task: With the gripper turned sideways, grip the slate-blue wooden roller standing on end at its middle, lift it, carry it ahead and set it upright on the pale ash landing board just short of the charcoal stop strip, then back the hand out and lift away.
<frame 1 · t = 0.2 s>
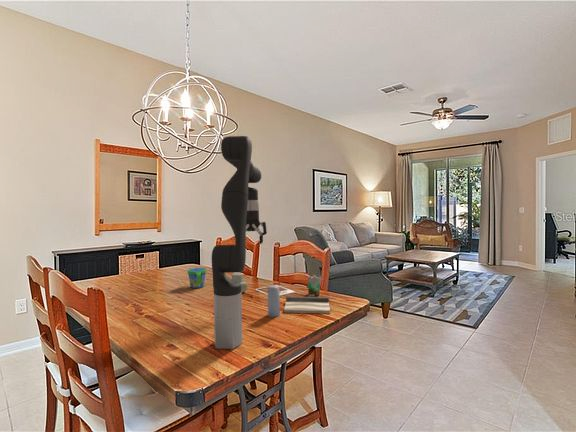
hand: (251, 244, 148), 28 cm above the table, tool pointing down, fingers open, 8 cm apart
roller: (273, 314, 132), on the table
snack cup: (197, 287, 180), on the table
landing board: (307, 307, 141), on the table
air freshener: (237, 292, 168), on the table
photo frame: (274, 292, 169), on the table
food container: (315, 295, 161), on the table
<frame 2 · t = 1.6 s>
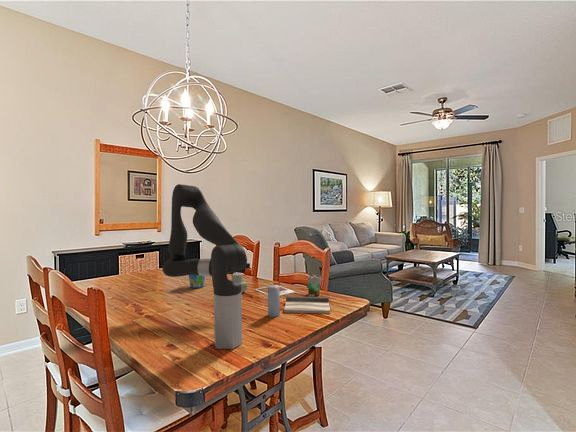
hand: (247, 267, 132), 20 cm above the table, tool horizontal, fingers open, 8 cm apart
nothing on the table moved.
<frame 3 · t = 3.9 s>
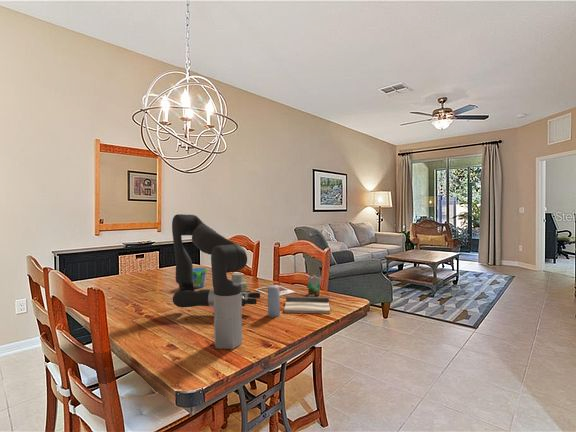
hand: (258, 298, 133), 7 cm above the table, tool horizontal, fingers open, 8 cm apart
nothing on the table moved.
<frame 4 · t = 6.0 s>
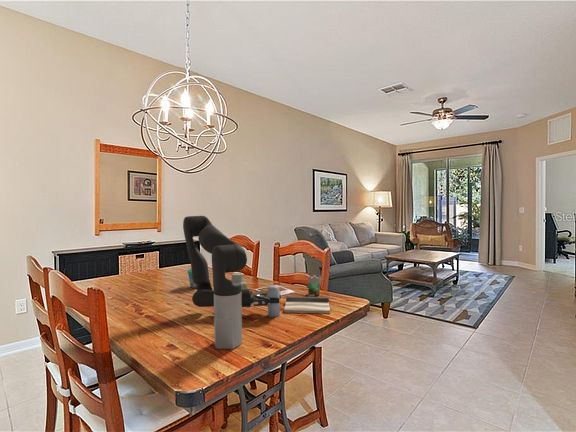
hand: (279, 298, 132), 7 cm above the table, tool horizontal, fingers closed on roller, 5 cm apart
roller: (273, 314, 132), on the table, touching gripper
everything else where it was.
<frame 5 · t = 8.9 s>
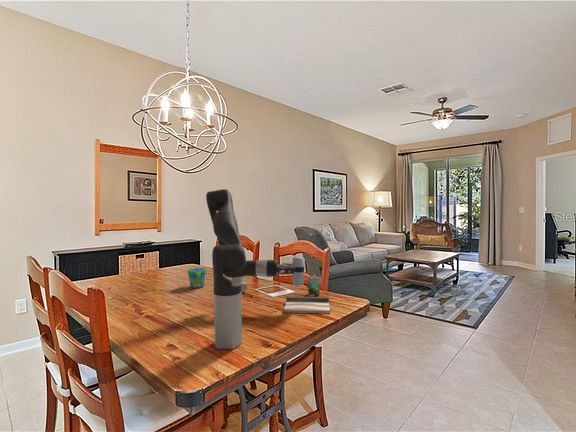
hand: (303, 268, 141), 18 cm above the table, tool horizontal, fingers closed on roller, 5 cm apart
roller: (298, 283, 141), point 11 cm above the table, touching gripper
everything else where it was.
when the fingers open (10 cm above the table, at t = 11.6 s): roller drops 1 cm, resting on landing board.
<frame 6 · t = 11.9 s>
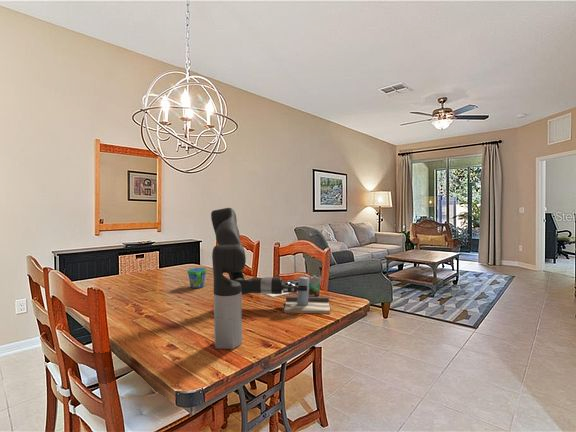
hand: (307, 286, 142), 10 cm above the table, tool horizontal, fingers open, 7 cm apart
roller: (302, 304, 142), point 1 cm above the table, touching landing board
everything else where it was.
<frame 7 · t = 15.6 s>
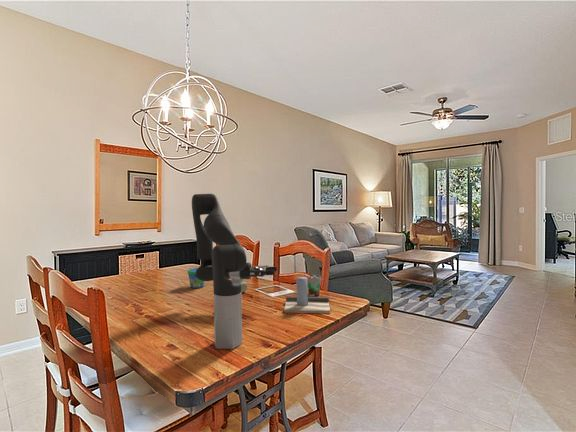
hand: (275, 270, 141), 17 cm above the table, tool horizontal, fingers open, 8 cm apart
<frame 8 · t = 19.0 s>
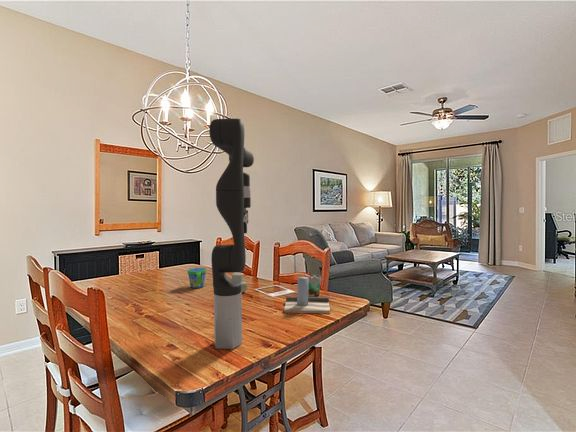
hand: (242, 234, 136), 34 cm above the table, tool pointing down, fingers open, 8 cm apart
nothing on the table moved.
at the end: roller inside the target area on the landing board (1.2 cm from its centre), point 1.4 cm above the landing board's base; roller tilted 4°; the gripper is holding nothing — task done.
